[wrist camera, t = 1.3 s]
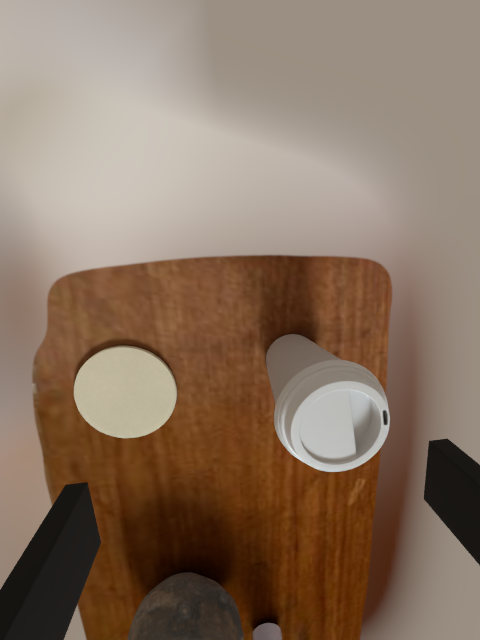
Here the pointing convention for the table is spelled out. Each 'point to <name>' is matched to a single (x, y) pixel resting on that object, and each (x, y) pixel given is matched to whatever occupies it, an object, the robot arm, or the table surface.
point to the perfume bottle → (267, 632)
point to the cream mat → (125, 391)
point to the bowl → (187, 611)
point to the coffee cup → (325, 405)
